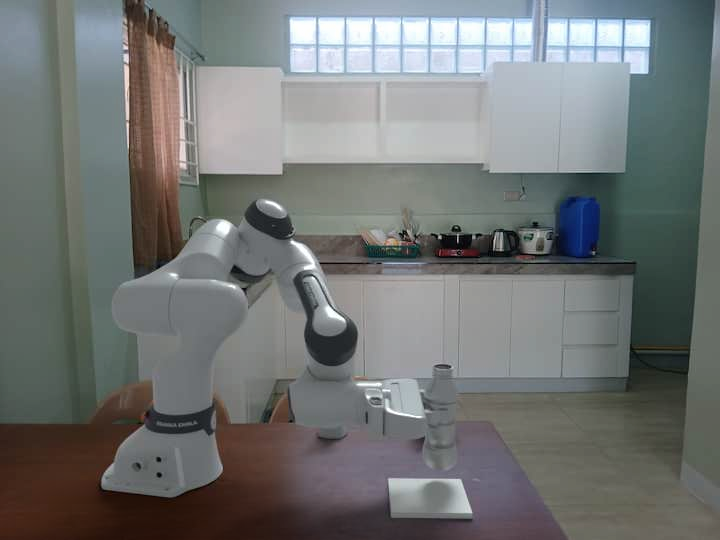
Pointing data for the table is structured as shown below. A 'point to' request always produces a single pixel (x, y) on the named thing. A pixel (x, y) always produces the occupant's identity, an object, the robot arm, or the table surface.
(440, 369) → the plastic bottle
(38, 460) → the table surface
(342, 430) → the flask
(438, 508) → the bottle pad
